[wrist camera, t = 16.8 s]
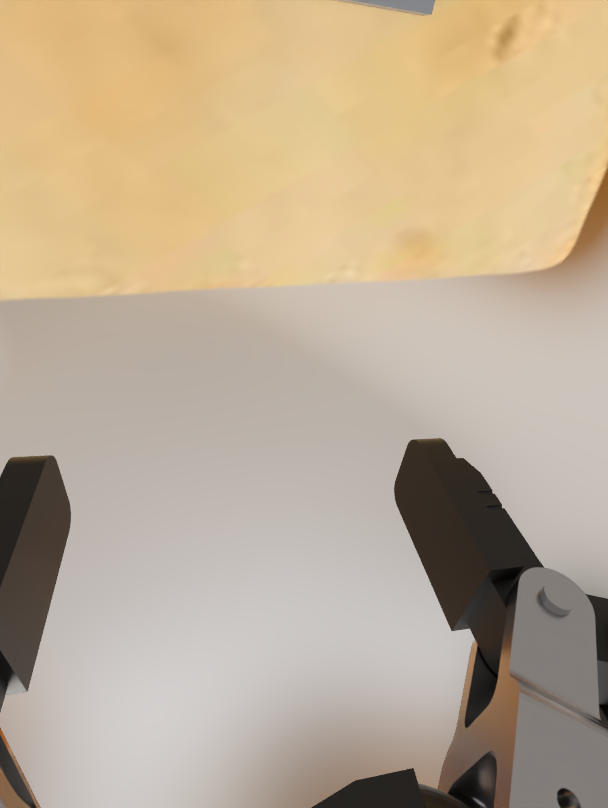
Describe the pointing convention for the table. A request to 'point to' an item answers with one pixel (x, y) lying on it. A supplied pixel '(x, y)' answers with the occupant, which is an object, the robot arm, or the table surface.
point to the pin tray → (398, 5)
